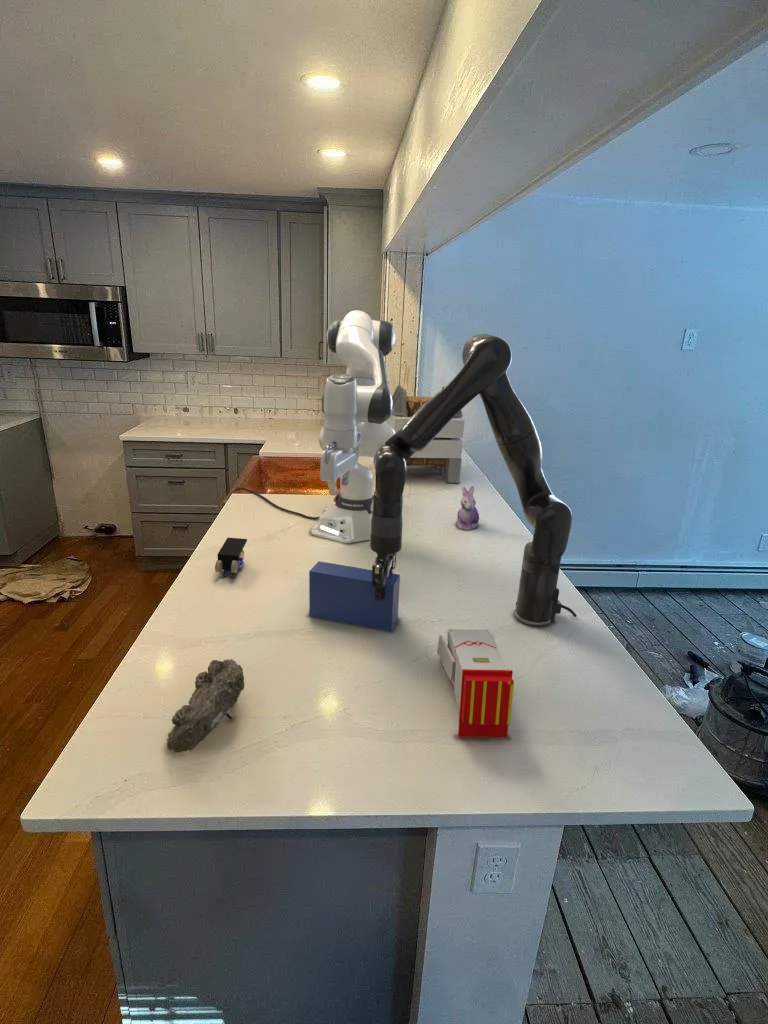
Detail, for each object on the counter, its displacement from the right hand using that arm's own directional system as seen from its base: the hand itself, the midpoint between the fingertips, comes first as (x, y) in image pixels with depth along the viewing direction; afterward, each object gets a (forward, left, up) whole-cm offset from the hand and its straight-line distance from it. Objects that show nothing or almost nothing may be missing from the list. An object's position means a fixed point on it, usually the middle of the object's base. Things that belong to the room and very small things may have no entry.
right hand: (383, 593), depth 140 cm
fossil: (+37, +32, -8) cm, 50 cm away
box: (+7, -3, -8) cm, 11 cm away
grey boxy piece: (-37, -136, -8) cm, 141 cm away
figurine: (-41, -66, -8) cm, 78 cm away
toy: (-15, +29, -8) cm, 33 cm away
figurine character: (+40, -33, -8) cm, 52 cm away
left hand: (+10, -22, +20) cm, 31 cm away
